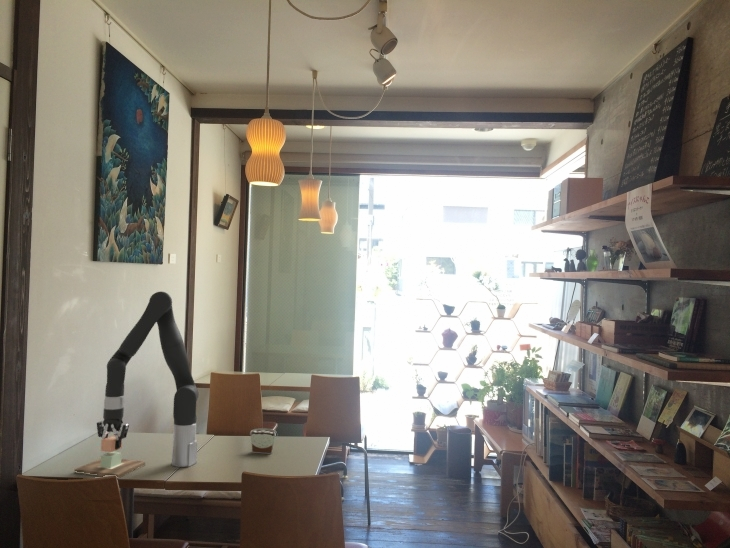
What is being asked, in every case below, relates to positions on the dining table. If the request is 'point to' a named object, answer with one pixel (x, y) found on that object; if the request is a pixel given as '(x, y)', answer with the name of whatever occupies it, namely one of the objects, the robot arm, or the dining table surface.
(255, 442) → the food container
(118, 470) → the base board
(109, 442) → the terracotta brick
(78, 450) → the dining table surface
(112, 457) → the sage green brick
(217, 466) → the dining table surface
